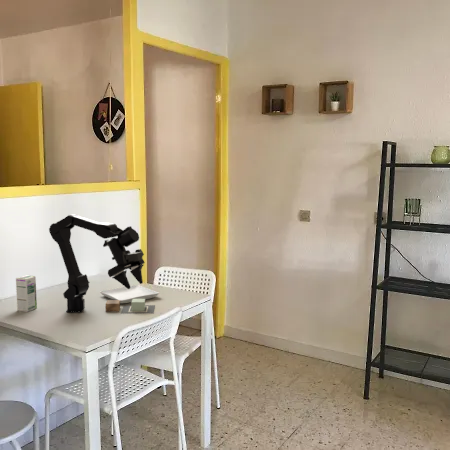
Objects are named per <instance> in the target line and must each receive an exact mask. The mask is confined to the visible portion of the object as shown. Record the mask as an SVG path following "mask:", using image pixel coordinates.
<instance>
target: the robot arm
mask: <svg viewBox="0 0 450 450" xmlns="http://www.w3.org/2000/svg"><path fill="white" fill-rule="evenodd" d="M74 227H79V228H81V229H84V230H87V231H91V232H93V233H94V234H96V235H97V236H98V237H100V238H102V239H105V240H104V243H103V245H102V246H103V248H105V247H108V249H109V250H110V253H111V254H112V256H113V257H111V260H112V261H115V262H116V265H115V266H113V267H112V268H110V269H108V270H107V275H108V276H109V278H112V279H113V280H115V281H117V282H118V283H120V284H121V285H122V286H123V287H126V288H127V289H130V288H131V287H130V286H131V284H130V282H129V279H128V277H127V271H128V270H129V272H130V274H132V276H133V277H134V278H135V280H136V281H137V282H138V283H139V284H140V285H142V284H143V282H144V281H143V275H142V269H143V267H144V264H145V260H144V259H143V257H144V255H145V253H144V252H143V250H142V249H141V248H138V249H135V251H134V252H131V251H130V250H129V249H126V248H129V246H131V245H133V244H135V243H137V242H138V241H140V236H139V235H140V234H139V233H138V232H137V231H136V230H135V229H134V228H132V226H127V227H126V228H124V229H122V228H120V227H118V226H117V224H116V223H114V222H113V223H112V222H101V221H96V220H94V219H90V218H87V217H84V216H80V215H78V214H76V213H74V214H68V215H67V216H66V217H64V218H62V219H60V220H58V221H56V222H54V223H51V224H50V226H49V228H48V231H49V234H50V236H51V239H52V240H53V241H54V242H56V244H57V245H58V248H59V250H60V253H61V257H62V260H63V262H64V266H65V269H66V272H67V274H68V279H67V287H68V288H67V289H66V290H65V291H64V292H63V294H62V295H63V298H64V299H66V301H67V302H66V305H67V306H66V309H67V310H65V311H66V313H82V312H83V311H84V310H85V308H86V307H85V304H86V303H85V302H86V301H85V298H84V296H85V295H87V292H88V290H89V288H90V281H89V279H88V275H87V274H83V273H82V272H81V270H80V268H79V264H78V261H77V258H76V256H75V252H74V249H73V246H72V243H71V236H72V232H71V230H72V229H74Z"/></svg>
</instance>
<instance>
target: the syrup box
mask: <svg viewBox="0 0 450 450" xmlns="http://www.w3.org/2000/svg"><path fill="white" fill-rule="evenodd" d="M36 281H37V279H36V276H35V275H30V274H27V275H23V276H19V277H16V278H15V289H16V291H15V292H16V308H17V309H16V310H17V311H20V312H25V313H29V312H31V311H33V310H36V309H38V305H37V304H38V303H37V286H36V285H37V284H36V283H37V282H36Z"/></svg>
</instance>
